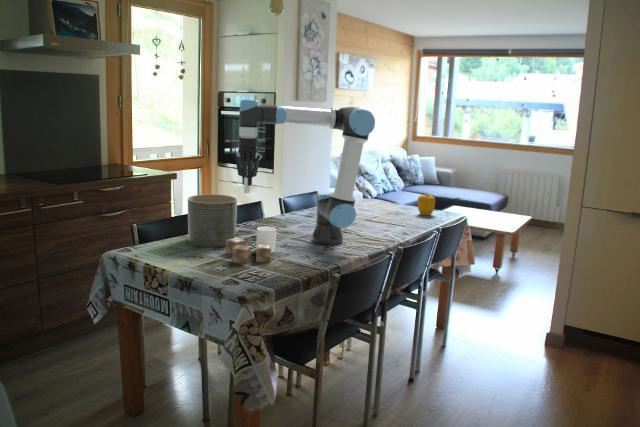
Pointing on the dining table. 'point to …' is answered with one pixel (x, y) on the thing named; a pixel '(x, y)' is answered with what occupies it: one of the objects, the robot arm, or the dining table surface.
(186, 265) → the dining table surface
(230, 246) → the labelled cube a
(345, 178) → the robot arm
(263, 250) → the labelled cube
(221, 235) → the planter
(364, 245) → the dining table surface
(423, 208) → the yellow bell pepper
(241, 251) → the plain cube
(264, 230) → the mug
